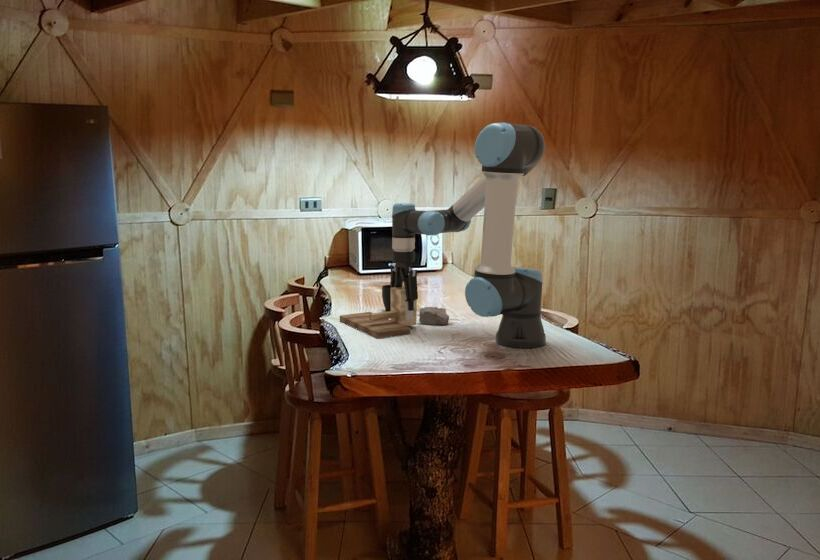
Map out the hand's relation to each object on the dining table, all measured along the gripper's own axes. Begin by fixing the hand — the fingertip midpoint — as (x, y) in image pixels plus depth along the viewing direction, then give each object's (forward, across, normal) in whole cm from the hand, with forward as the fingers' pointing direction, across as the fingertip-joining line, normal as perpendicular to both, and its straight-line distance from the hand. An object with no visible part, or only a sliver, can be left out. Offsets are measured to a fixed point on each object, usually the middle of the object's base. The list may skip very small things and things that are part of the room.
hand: (403, 317), depth 211 cm
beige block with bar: (+2, 0, +5) cm, 5 cm away
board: (+3, +4, +9) cm, 11 cm away
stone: (+4, -1, -12) cm, 12 cm away
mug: (+3, +22, -11) cm, 25 cm away
